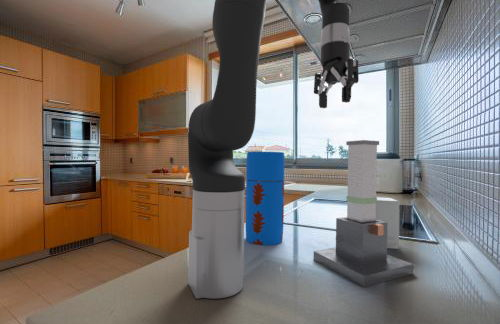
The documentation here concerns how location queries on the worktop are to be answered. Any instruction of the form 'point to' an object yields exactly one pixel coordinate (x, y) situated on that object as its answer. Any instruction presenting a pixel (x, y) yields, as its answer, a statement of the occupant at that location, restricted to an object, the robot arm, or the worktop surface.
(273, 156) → the thermos
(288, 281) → the worktop surface
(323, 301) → the worktop surface
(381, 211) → the supplement box
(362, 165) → the column
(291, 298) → the worktop surface
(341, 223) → the stand base
